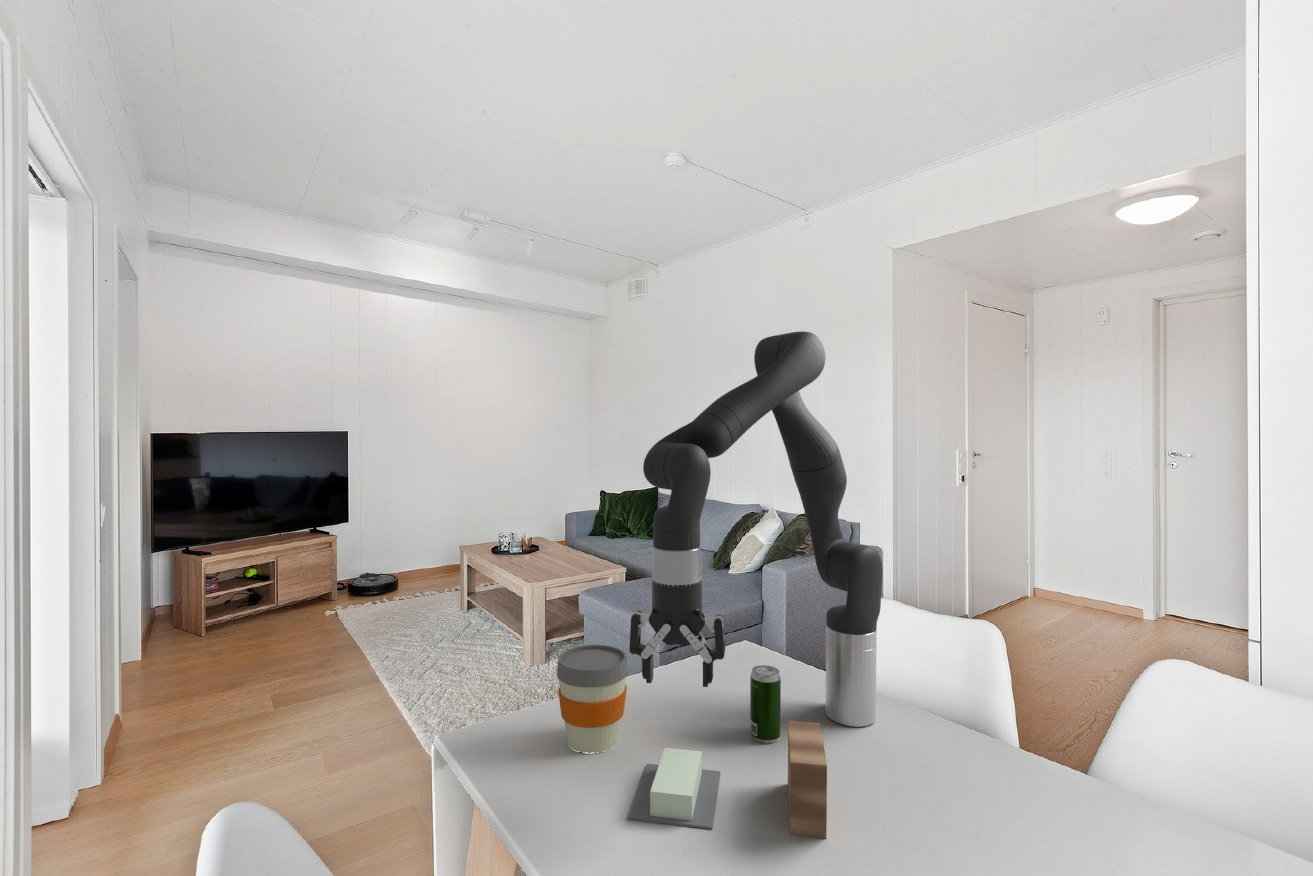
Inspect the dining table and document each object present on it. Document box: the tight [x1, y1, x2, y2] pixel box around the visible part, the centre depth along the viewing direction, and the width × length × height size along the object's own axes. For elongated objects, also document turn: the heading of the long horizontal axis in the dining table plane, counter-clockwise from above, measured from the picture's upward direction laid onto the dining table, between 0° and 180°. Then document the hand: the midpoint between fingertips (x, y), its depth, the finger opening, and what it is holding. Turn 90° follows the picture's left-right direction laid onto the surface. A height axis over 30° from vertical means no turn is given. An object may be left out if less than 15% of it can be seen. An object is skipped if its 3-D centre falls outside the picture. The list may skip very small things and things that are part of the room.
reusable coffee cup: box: [556, 644, 629, 753], centre depth 109 cm, size 13×13×15 cm
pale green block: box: [650, 747, 703, 821], centre depth 94 cm, size 12×6×4 cm, turn 169°
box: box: [787, 720, 828, 839], centre depth 90 cm, size 12×5×10 cm, turn 170°
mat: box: [627, 763, 721, 830], centre depth 94 cm, size 14×12×1 cm
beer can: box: [749, 664, 782, 745], centre depth 111 cm, size 5×5×12 cm
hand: (677, 683), depth 93 cm, fingers open, 8 cm apart
